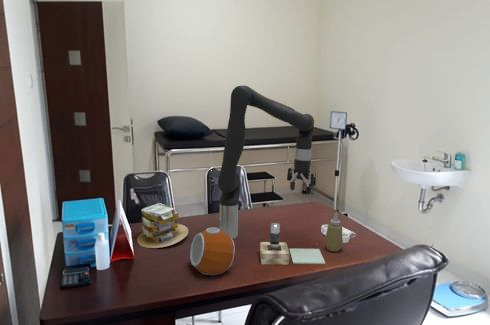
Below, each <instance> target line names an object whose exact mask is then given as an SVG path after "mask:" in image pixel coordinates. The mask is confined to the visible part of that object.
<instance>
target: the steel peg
mask: <svg viewBox="0 0 490 325" xmlns="http://www.w3.org/2000/svg"><path fill="white" fill-rule="evenodd" d="M280 228H281V224H280V223H279V222H272V223H270V231H269V242H270V251H279V243H280V242H281V241H280V240H281V231H280V230H281V229H280Z"/></svg>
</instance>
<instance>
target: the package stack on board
mask: <svg viewBox="0 0 490 325" xmlns="http://www.w3.org/2000/svg"><path fill="white" fill-rule="evenodd" d="M140 211H141V214H142V217H141V222H142V223H143V225H141V229H142V232H141V233H140V234H139V235H138V236H137V240H136V241H137V244H139V246H141V247H143V248H147V249H158V248H164V247H169V246H172V245H174V244H177V243H179V242H181V241H182V240H184V239H185V238H186V237H187V236H188V234H189V228H188V227H187V226H185V225H184V224H180V223H178V222H179V220H178V219H179V217H180V216H179V213H178V212H177V211H176V210H175V208H174V207H172V206H169V205H166V204H164V203H162V202H157V203H156V204H151V205H149V206H146V207H144V208H142V209H141V210H140Z"/></svg>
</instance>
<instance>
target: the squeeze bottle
mask: <svg viewBox="0 0 490 325" xmlns="http://www.w3.org/2000/svg"><path fill="white" fill-rule="evenodd" d="M327 225H328V228H327V234H326V236H325V240H324V243H325V246H326V249H327V250H328V251H329V252H332V253H333V252H335V253H337V252H340V250H341V248H342V246H343V240H342V227H343V226H342V224H341V220H339V216H338V213H337V212H334V215H333V218H331V219H330V223H328V224H327Z"/></svg>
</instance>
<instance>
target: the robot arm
mask: <svg viewBox="0 0 490 325" xmlns="http://www.w3.org/2000/svg"><path fill="white" fill-rule="evenodd" d="M229 104H230V107H229V118H228V123H227V127H226V134H225V141H224V148H223V154H222V155H223V156H222V163H221V168H220V170H219V174H218V179H217V186H218V189H219V190H220V191H221V194H220V197H219V219H218V220H219V221H218V222H219V223H218V229H219V230H221V231H223V232H225V233H227V234H228V235H229V236H230V238H232V240H234V239H237V238H238V234H239V230H238V228H239V200H240V192H241V178H240V175H239V173H238V172H237V168H238V165H239V164H238V163H239V161H240V159H241V156H242V153H243V151H244V147H245V144H246V143H245V141H246V137H247V136H246V134H247V131H246V122H245V121H246V120H245V119H246V113H247V108H248V107H253V108H256V109H259V110H261V111H263V112H264V113H266V114H268V115H269V116H270V117H273V118H275V119H277V120H278V121H279V120H280V121H281V122H285V123H287V124H289V125H291V126H292V127H294V128H295V129H297V130H298V131H297V132H298V133H297V137H296V139H295V140H296V142H295V150H294V160H293V167H288V169H287V176H286V180H287V181H289V189H290V191H295V187H296V180H300V181H303V182H304V183H305V185H306V190H305V195H307V196H308V195H310V194H311V192H312V187H314V186H316V184H317V182H316V180H317V174H316V172H311V171H310V170H311V163H312V143H313V142H312V141H313V140H312V139H313V135H314V127H315V119H314V117H313V116H312V115H311V114H309V113H302V112H299V111H297V110H295V109H294V108H292V107H290V106H287V105H286V104H284V103H281V102H278V101H277V100H273V99H270V98H268V97H266V96H264V95H262V94H261V93H259V92H257V91H256V90H255V89H253V88H251V87H250V86H248V85H238V86H235V87H234V88H233V90H231V94H230V102H229ZM293 174H294V175H293Z"/></svg>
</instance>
